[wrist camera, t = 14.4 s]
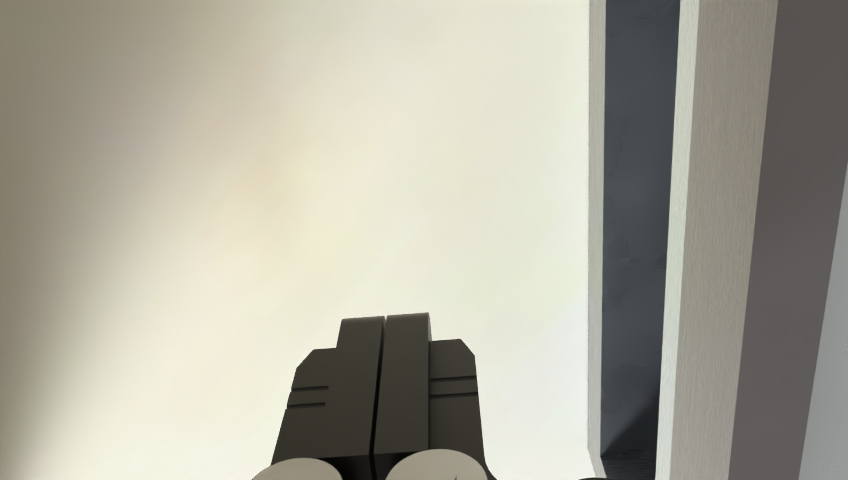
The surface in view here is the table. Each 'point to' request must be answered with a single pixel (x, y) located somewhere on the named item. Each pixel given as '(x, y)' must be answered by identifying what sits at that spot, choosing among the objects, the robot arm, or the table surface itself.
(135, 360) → the table surface
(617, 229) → the housing
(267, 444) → the table surface
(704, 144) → the cover
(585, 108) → the table surface
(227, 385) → the table surface
